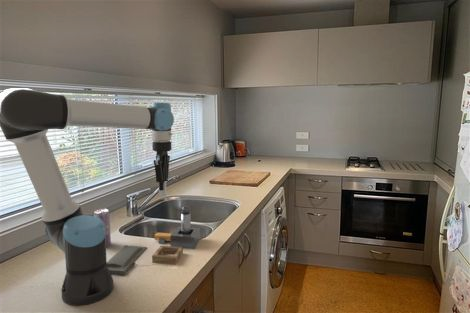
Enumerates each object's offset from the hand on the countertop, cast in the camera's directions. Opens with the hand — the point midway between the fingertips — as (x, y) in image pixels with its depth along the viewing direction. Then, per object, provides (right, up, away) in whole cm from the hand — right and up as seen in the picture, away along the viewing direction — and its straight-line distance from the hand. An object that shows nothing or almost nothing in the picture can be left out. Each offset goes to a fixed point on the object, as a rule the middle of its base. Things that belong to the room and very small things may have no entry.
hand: (162, 197), depth 136 cm
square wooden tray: (+5, -23, -11) cm, 26 cm away
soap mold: (-12, -24, -12) cm, 29 cm away
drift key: (0, -18, +3) cm, 19 cm away
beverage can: (-25, -20, +1) cm, 32 cm away
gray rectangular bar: (+9, -20, +2) cm, 22 cm away
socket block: (+6, -21, +3) cm, 22 cm away
